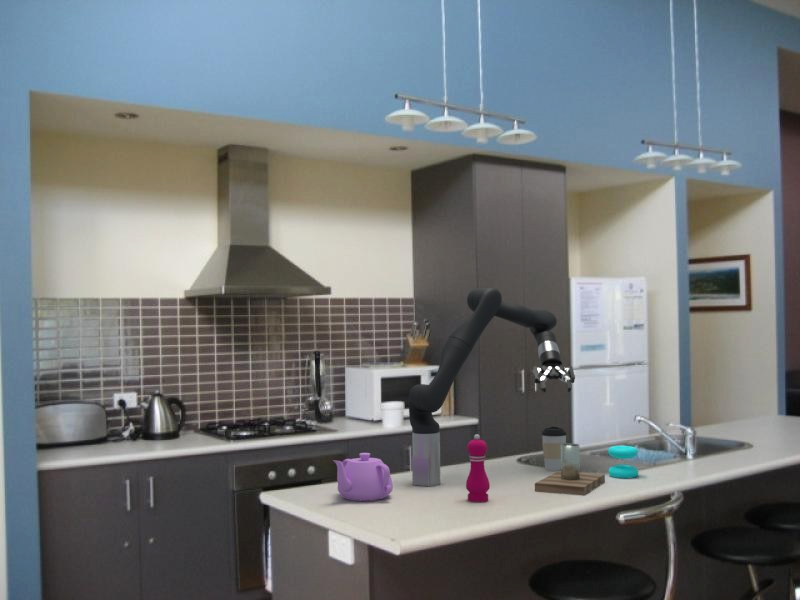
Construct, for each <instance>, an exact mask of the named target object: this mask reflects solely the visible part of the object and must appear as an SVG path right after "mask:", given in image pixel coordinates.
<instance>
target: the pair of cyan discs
mask: <svg viewBox="0 0 800 600" xmlns="http://www.w3.org/2000/svg"><path fill="white" fill-rule="evenodd" d="M607 453H608V454H609V456H610V457H611V458H614V459H621V460H629V459H634V458H635V457H636V456H638V454H639V450H638V448H637V447H635V446H630V445H612V446H610V447H608V451H607ZM608 474H609V476H611V477H612V478H616V477H617V478H618V479H631V478H632V479H633V477H634V478H637V476H638V475H639V470H638V468H637V467H635V466H634V465H629V464H615V465H612V466H611V467H609V469H608ZM617 478H616V479H617Z"/></svg>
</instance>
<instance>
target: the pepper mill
mask: <svg viewBox="0 0 800 600" xmlns="http://www.w3.org/2000/svg"><path fill="white" fill-rule="evenodd" d="M467 443H468V444H467V447H466V450H467V452H468V453H469V456H468V457H469V459H468V460H469V461H470V470H469V473H468V476H467V477H466V480H465V481H466V482H465V488H466V490H467V491H468V494H467V501H468V502H471V503H485V502H489V494H488V491H489V490H490V488H491V487H490V485H491V484H490V480H489V477H488V476H487V472H486V470H485V461H486V460H487V459H486V452H487V451H488V446H487V443H486V442H485V441H484V439H483V440H482V439H481V436H480V434H477V433H476V434H474V436H473V439H472V440H470V441H469V442H467Z"/></svg>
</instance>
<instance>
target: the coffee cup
mask: <svg viewBox="0 0 800 600" xmlns="http://www.w3.org/2000/svg"><path fill="white" fill-rule="evenodd" d="M567 436H568V435H567V431H566V430H564V428H560V427H559V426H550V427H545V428H544V430H543V431H541V439H542V452H543V454H542V455H543V459H544V460H543V462H544V469H545V470H546V471H552V472H553V471H554V472H558V471H561V444H564V443H567V441H566V440H567Z"/></svg>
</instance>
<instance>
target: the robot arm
mask: <svg viewBox="0 0 800 600" xmlns="http://www.w3.org/2000/svg"><path fill="white" fill-rule="evenodd" d="M466 303H467V306H468V309H470V310H471V311H472V312H473V313H472V315H470V317H468V319H467V320H466V321H464V322H463V323H461V324H460V325H459V326H458V327H456V329H454V330H453V331H452V332H451V333H450V335H449V336H448V338H447V339H446V341H445V343H444V344H443V346H442V347H441V350H440V354H439V365H438V369H437V372H436V373H435V375H434V376H433V378H432V380H431V381H430V382H429V384H415V385H414V386H413V387H412V388H411V389H410V391H409V393H408V415H409V416H408V417H409V424H410V425H411V426H410V427H411V431H412V432H411V434H412V439H411V440H412V457H411V465H412V467H411V468H412V470H411V472H412V475H411V476H412V481H411V482H412V486H420V487H432V486H438V485H440V484H441V444H440V443H441V435H440V434H441V433H440V430H441V429H440V423H439V422H437V421H436V420H435V418H434V416H433V413H436V412H438V411H439V410H441V407H442V406H443V405H444V402H445V401H446V399H447V397H448V394H449V392H450V389H451V387H452V385H453V384H454V382H455V380H456V378H457V376H458V375H459V373H460V371H461V369H462V368H463V366H464V365H465V363H466V361H467V359H468V358H469V356H470V355H471V353H472V351H473V349H474V347H475V345H476V343H477V342H478V340H479V339H480V338H481V336H482V334H483V332H484V331H485V329H486V328H487V326H488V325H489V323H490V322H491V321H492V320H493V318H494V317H497V318H500V319H503V320H505V321H507V322H510V323H513V324H515V325H518V326H521V327H524V328H527V329H529V331H530V332H531V334H532V336H533V338H534V339H535V341H536V345H537V350H538V359H539V362H540V367H538V366H533V369H532V370H533V371H532V374H533V375H532V376H533V382H534V384H539V386H540V390H541V391H542V392H543V393H546V391H547V388H546V387H547V386H546V382H547V380H548V379H549V380H559V381H561V382H564V383H565V387H566V390H567V391H566V392H567V393H570V392H571V391H572V384H573V383H575V379H576V375H575V373H574V369H573V366H571V365H569V366H568V367H564V366H563V362H562V357H561V353H560V349H559V347H558V342H557V339H556V336H555V333H553V332H552V331H551V330H553V329H554V328H555V327H556V326H557V322H558V320H557V317H556V315H555V314H553V313H552V312H551V311H548V310H545V309H531V308H529V307H527V306H524V305H520V304H517V303H513V302H509V301H505V300H503V296H502V293H501V292H500V291H499V290H498V288H493V287H477V288H473V289H472V290H470V292H469V293H468V295H467V298H466ZM540 373H541V374H542V376H541V377H539V374H540Z"/></svg>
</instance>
